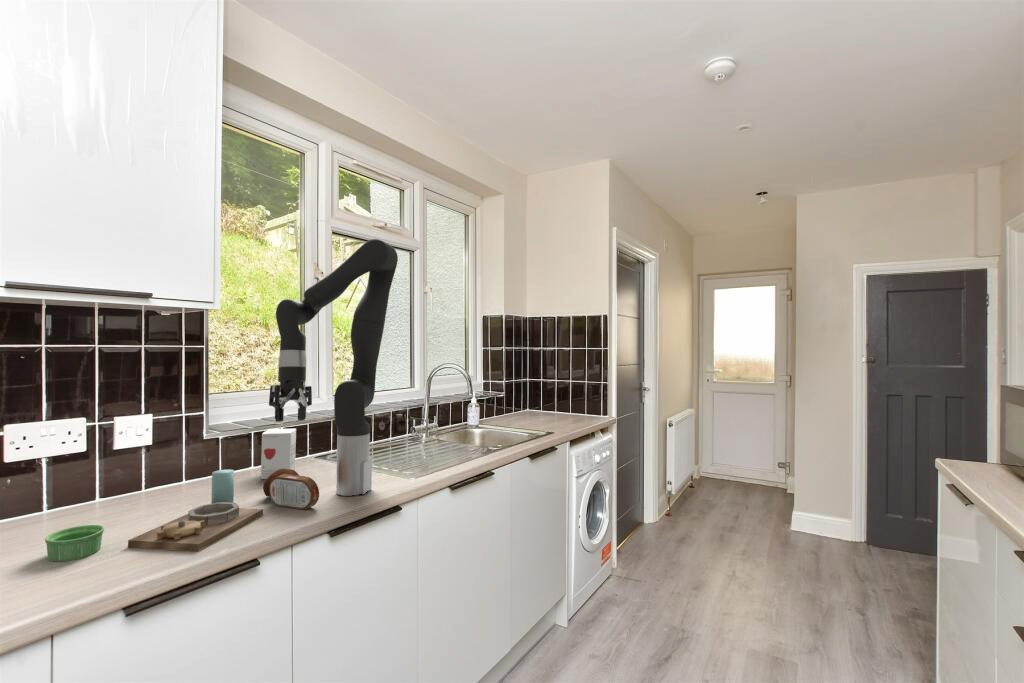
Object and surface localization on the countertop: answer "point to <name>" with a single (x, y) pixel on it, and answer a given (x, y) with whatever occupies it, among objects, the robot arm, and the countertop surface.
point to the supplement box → (277, 451)
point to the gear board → (197, 528)
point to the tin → (294, 491)
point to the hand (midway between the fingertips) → (290, 420)
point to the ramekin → (74, 542)
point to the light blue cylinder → (222, 486)
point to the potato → (272, 476)
